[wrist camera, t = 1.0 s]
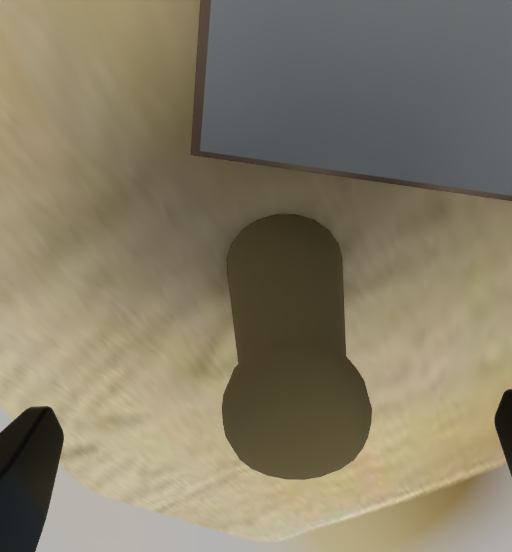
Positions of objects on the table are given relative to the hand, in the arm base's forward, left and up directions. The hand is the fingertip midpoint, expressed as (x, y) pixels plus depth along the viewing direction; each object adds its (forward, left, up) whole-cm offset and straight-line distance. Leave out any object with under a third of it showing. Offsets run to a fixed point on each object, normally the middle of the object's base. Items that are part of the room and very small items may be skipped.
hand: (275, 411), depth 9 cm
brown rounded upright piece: (-2, +5, -14) cm, 15 cm away
